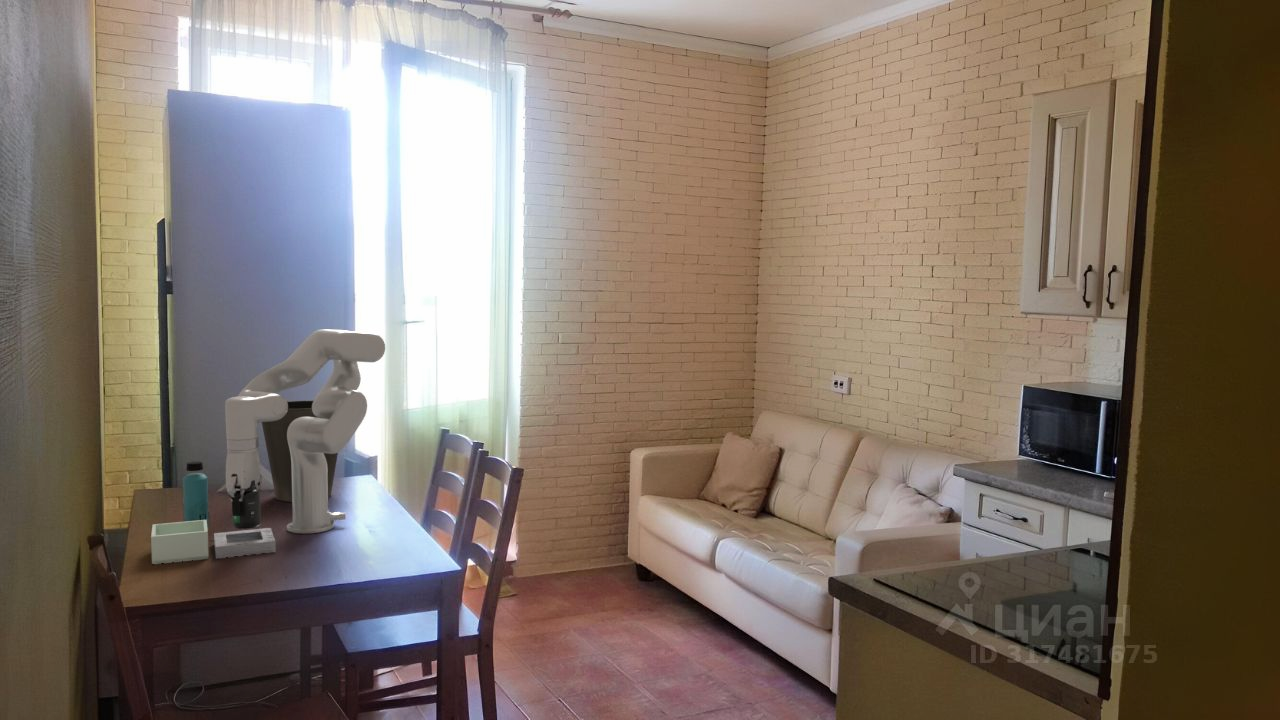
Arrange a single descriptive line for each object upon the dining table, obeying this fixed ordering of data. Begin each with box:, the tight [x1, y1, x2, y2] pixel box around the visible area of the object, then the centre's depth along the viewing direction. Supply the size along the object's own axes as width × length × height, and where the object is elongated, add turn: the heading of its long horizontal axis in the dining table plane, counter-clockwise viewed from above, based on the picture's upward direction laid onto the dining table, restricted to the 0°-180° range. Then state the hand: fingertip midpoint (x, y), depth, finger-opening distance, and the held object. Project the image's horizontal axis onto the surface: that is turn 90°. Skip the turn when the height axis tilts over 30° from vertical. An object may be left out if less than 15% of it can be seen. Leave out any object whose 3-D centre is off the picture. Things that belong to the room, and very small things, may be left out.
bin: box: [150, 520, 209, 565], centre depth 241 cm, size 13×13×7 cm
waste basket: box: [261, 400, 339, 503], centre depth 305 cm, size 27×20×30 cm
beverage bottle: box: [182, 460, 211, 530], centre depth 260 cm, size 6×7×20 cm
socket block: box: [213, 527, 277, 560], centre depth 247 cm, size 14×14×3 cm
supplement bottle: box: [231, 480, 262, 530], centre depth 247 cm, size 7×7×12 cm
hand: (246, 511), depth 247 cm, fingers closed on supplement bottle, 6 cm apart
